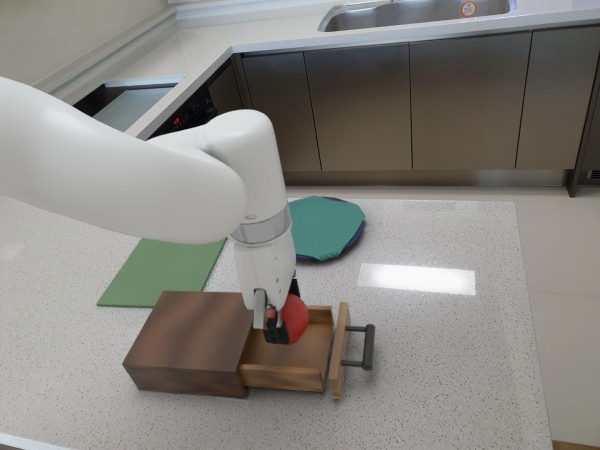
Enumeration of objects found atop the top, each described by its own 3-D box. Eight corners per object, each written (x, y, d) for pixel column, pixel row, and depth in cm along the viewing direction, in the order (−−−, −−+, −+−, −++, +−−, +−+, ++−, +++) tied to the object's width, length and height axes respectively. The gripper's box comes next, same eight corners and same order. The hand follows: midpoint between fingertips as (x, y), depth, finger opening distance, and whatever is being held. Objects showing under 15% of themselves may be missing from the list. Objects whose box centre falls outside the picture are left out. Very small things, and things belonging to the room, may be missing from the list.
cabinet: (270, 320, 77) (262, 292, 73) (246, 399, 66) (235, 372, 62) (175, 316, 81) (163, 290, 77) (138, 390, 70) (121, 364, 66)
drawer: (377, 323, 72) (375, 302, 69) (372, 402, 61) (369, 381, 59) (252, 318, 77) (245, 298, 74) (228, 390, 67) (219, 370, 64)
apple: (307, 355, 62) (299, 318, 58) (258, 352, 64) (247, 316, 60) (315, 316, 68) (308, 279, 63) (270, 314, 69) (260, 278, 65)
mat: (193, 309, 82) (192, 307, 82) (97, 306, 87) (95, 303, 87) (227, 237, 97) (227, 235, 97) (144, 238, 102) (143, 236, 102)
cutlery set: (336, 277, 82) (335, 267, 81) (209, 239, 97) (206, 230, 95) (380, 214, 95) (379, 205, 94) (261, 188, 109) (260, 180, 108)
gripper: (248, 178, 61) (273, 275, 72) (203, 267, 48) (241, 371, 58) (303, 177, 59) (320, 276, 70) (271, 269, 46) (298, 375, 57)
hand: (284, 319), depth 64 cm, fingers closed on apple, 7 cm apart
